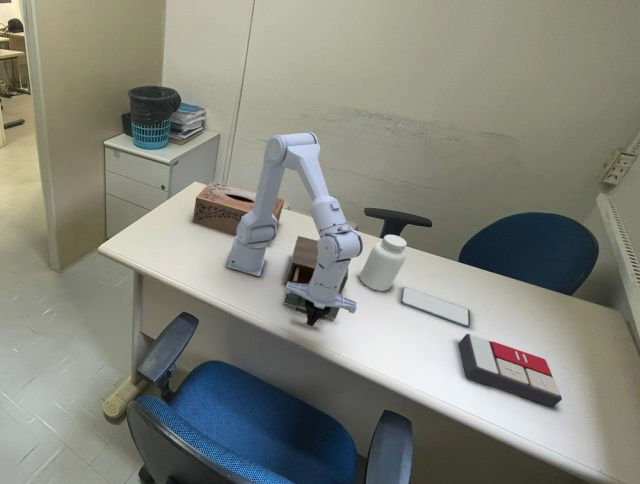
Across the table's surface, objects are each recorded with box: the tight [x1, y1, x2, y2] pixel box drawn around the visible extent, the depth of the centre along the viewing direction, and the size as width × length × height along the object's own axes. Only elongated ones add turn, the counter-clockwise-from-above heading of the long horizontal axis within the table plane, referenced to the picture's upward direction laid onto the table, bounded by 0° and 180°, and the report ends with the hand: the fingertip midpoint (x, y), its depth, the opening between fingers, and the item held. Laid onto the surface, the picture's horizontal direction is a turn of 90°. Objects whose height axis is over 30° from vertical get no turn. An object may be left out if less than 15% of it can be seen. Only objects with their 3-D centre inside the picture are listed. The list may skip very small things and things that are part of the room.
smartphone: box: [401, 287, 471, 327], centre depth 105 cm, size 7×1×15 cm
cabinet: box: [284, 235, 349, 295], centre depth 112 cm, size 14×14×8 cm
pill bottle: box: [359, 234, 408, 292], centre depth 109 cm, size 8×8×15 cm
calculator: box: [458, 333, 563, 408], centre depth 87 cm, size 11×4×15 cm
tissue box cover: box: [192, 180, 285, 237], centre depth 135 cm, size 26×14×10 cm, turn 59°
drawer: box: [283, 266, 341, 321], centre depth 103 cm, size 17×13×6 cm
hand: (309, 322), depth 93 cm, fingers closed
